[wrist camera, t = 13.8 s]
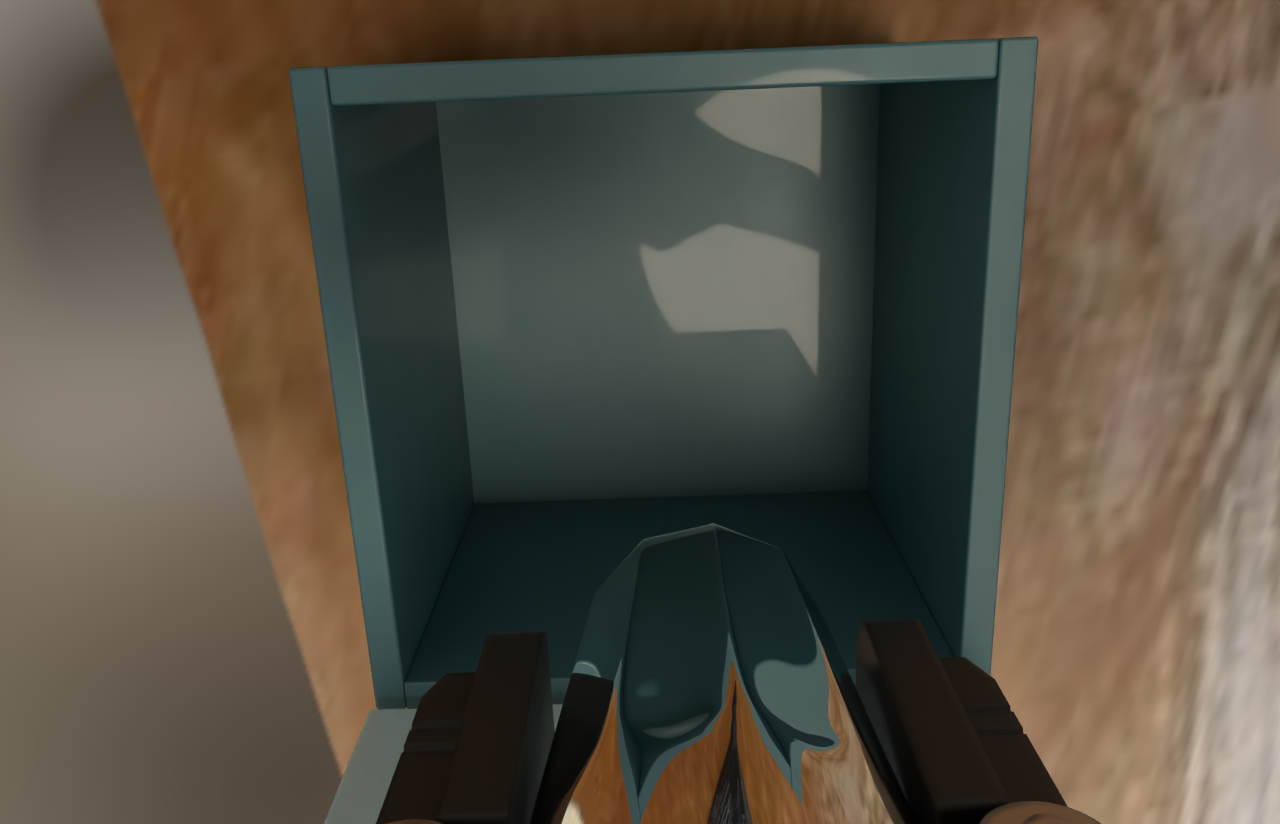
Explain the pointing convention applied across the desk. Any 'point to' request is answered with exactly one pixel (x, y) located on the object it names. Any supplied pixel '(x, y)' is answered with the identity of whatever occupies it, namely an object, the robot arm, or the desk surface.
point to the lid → (376, 766)
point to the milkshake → (712, 699)
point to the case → (669, 329)
